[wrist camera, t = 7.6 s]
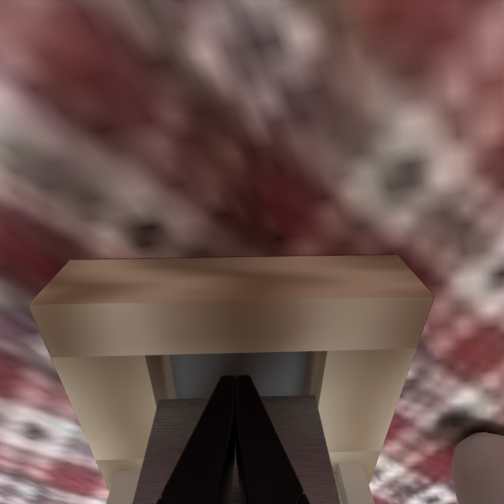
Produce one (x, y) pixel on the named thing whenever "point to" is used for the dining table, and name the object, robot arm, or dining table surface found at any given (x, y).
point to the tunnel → (347, 475)
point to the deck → (233, 341)
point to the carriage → (286, 424)
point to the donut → (479, 469)
